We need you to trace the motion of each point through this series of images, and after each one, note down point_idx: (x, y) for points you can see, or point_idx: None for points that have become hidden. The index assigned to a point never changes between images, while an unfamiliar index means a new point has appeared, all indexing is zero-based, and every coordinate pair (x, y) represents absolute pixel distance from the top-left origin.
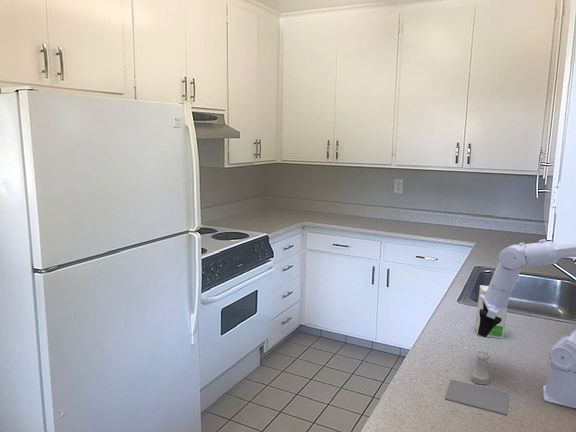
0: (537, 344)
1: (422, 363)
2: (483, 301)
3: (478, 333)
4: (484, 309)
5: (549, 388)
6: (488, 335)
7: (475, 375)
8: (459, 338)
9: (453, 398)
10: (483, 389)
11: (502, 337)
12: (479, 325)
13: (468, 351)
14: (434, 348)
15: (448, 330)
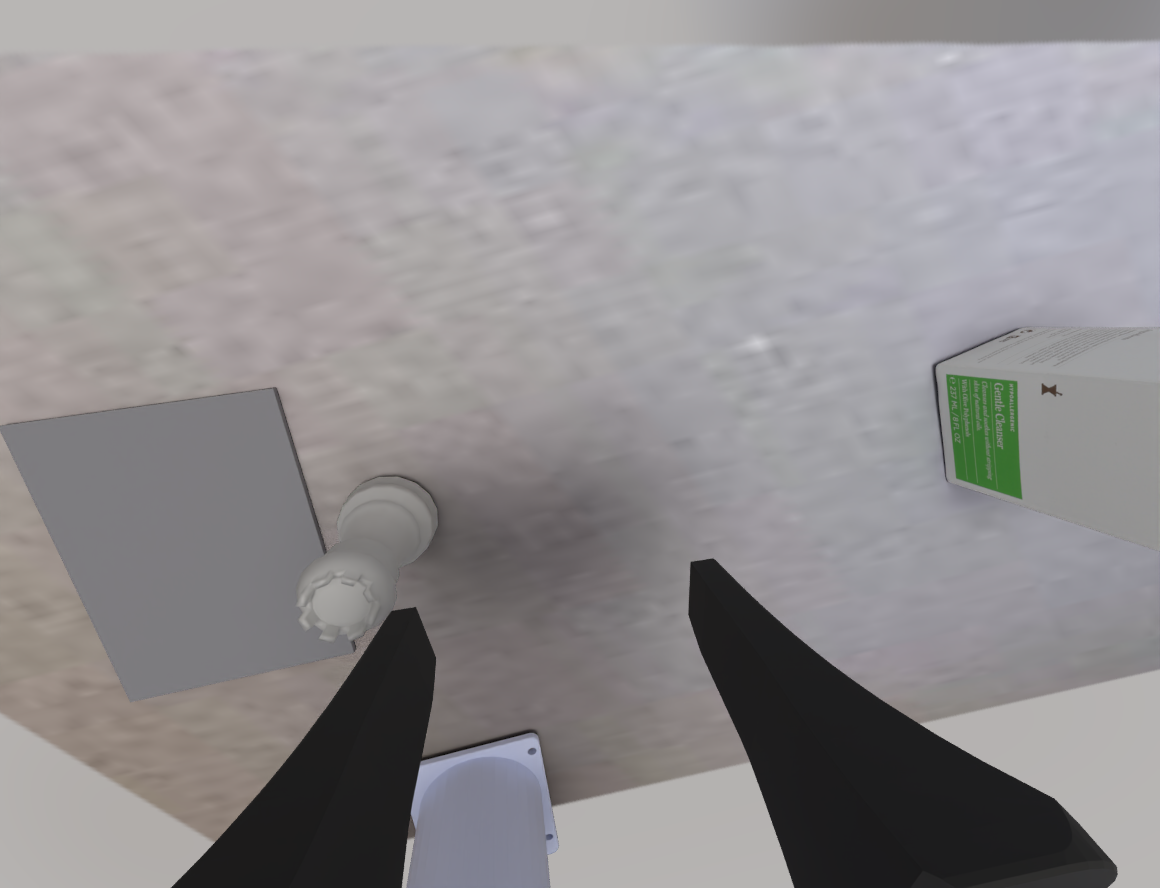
0: (946, 612)
1: (368, 164)
2: (891, 846)
3: (385, 623)
4: (785, 711)
5: (433, 815)
6: (947, 418)
7: (343, 514)
8: (858, 282)
9: (43, 466)
10: (296, 558)
11: (953, 480)
12: (319, 718)
13: (711, 373)
14: (639, 178)
15: (943, 190)
